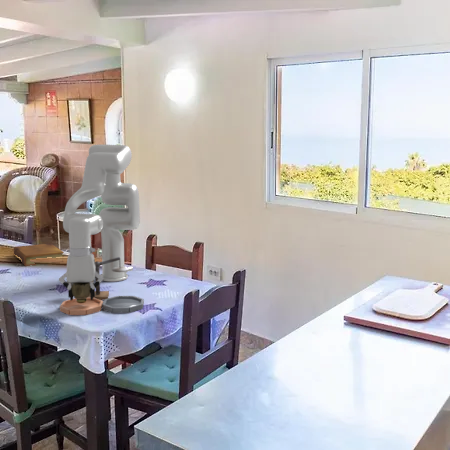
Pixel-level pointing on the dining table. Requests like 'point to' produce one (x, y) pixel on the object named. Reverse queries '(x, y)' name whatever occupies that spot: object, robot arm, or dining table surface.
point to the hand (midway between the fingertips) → (81, 298)
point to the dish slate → (123, 304)
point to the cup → (81, 291)
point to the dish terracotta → (81, 307)
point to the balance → (99, 294)
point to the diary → (36, 252)
